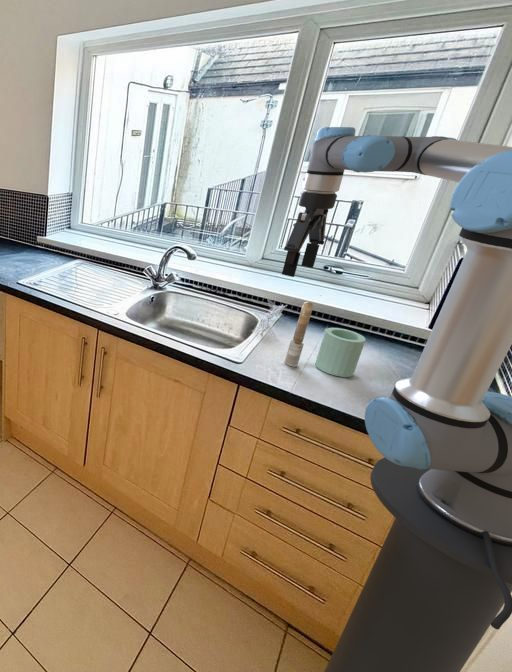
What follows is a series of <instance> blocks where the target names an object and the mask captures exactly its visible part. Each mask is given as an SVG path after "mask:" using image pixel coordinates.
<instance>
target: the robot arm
mask: <svg viewBox="0 0 512 672" xmlns="http://www.w3.org/2000/svg"><path fill="white" fill-rule="evenodd" d="M356 131H357V130H356V128H355V127H353V126H352V127H351V126H324V127H321V128H319V129H318V130H317V132H316V136H315V139H314V141H313V143H312V149H311V153H310V157H309V161H308V165H307V170H306V173H305V174H306V175H305V176H303V178H302V181H303V186H302V189H303V191H302V192H300V196H299V200H298V206H299V207H301V208H305V210H304V211H303V212H302V211H301V212H299V213H298V214H297V218H296V221H295V224H294V226H293V228H292V230H291V233H290V235H289V237H288V240H287V242H286V245H285V246H284V248H283V251H287V253H286V256H285V260H284V264H283V267H282V272H281V275H283V276H288V277H292V278H294V277H296V271H297V268H298V265H299V261H300V257H301V252H300V251H301V249H302V248H303V245H304V244H305V242H306V240H307V237H308V242H307V243H306V247H305V250H304V254H303V256H302V261H301V266H302V267H306V268H310V269H313V268H314V267H315V262H316V259H317V256H318V252H319V250H320V249H319V248H320V245H322V246H324V245H325V234H326V227H327V226H326V225H327V218H328V213H329V210H332V209H333V208H334V207H335V205H336V201H337V198H338V195H337V193H338V192H339V191H340V189H341V184H342V181H343V178H344V174H345V171H351V172H354V173H375V172H387V173H388V172H389V173H391V172H393V173H394V172H395V173H396V172H398V173H414V174H419V175H423V176H429V177H433V178H437V179H442V180H447V181H450V182H455V183H457V184H456V186H455V187H454V190H453V192H452V194H451V198H450V201H449V209H450V210H451V211H453V212H452V214H451V215H450V216H451V218H452V219H453V221H454V222H455V224H457V226H459V227H460V228H461V229H460V232H459V234H458V235H457V236H458V239H459V240H460V241H461V242H462V243H463V245H464V246H465V247H466V252H465V254H464V256H463V259H462V261H461V264H460V265H459V268H458V270H457V272H456V275H455V277H454V279H453V282H452V284H451V287H450V288H449V291H448V293H447V295H446V297H445V300H444V301H443V304H442V307H441V309H440V311H439V314H438V316H437V318H436V320H435V323H434V325H433V328H432V330H431V332H430V334H429V336H428V339H427V341H426V343H425V346H424V348H423V350H422V352H421V355H420V357H419V359H418V361H417V364H416V367H415V368H414V370H413V373H412V375H411V377H407V378H402V379H399V380H397V381H396V383H394V384H395V385H394V387H393V390H392V392H391V393H390V396H389V397H388V396H379V397H377V398H373V399H371V400H370V401H369V402H368V403H367V405H366V407H365V411H364V425H365V430H366V432H367V435H368V438H369V439H370V441H371V443H372V444H373V446H374V448H375V449H376V450H377V451H378V453H379V454H381V455H382V456H383V458H386V459H388V460H389V461H391V462H393V463H395V464H397V465H401V466H407V467H414V468H417V469H430V470H429V471H427V472H426V473H425V474H424V475H422V476H421V478H420V480H419V482H418V484H417V492H418V494H419V496H420V497H421V499H422V500H423V501H424V502H425V504H426V505H427V506H428V507H430V508H431V509H432V510H433V511H434V512H435V513H437V514H438V515H439V516H441V517H442V518H443V519H445V520H446V521H448V522H449V523H451V524H453V525H454V526H456V527H458V528H460V529H462V530H464V531H465V532H468V533H470V534H472V535H474V536H476V537H479V538H481V539H484V542H485V546H486V550H487V554H488V558H489V563H490V566H491V570H492V572H493V575H494V577H495V579H496V581H497V583H498V585H499V586H500V588H501V590H502V593H503V595H504V601H505V602H504V604H503V607H502V609H501V610H500V611H499V612H498V614H497V615H496V617H495V618H494V620H493V621H492V622H491V625H490V627H492V628H493V629H494V630H500V628H501V627H503V625H504V624H505V623H506V622H507V621H508V619H509V618H510V617H511V616H512V592H511V593H510V591H509V589H508V587H507V586H506V584H505V582H504V580H503V578H502V576H501V574H500V571H499V568H498V564H497V560H496V556H495V552H494V549H493V545H492V543H496V544H499V545H503V546H509V547H512V396H510V395H507V394H503V393H499V392H495V391H489V388H490V386H491V384H492V383H493V381H494V379H495V377H496V376H497V373H498V371H499V370H500V368H501V366H502V363H503V362H504V360H505V358H506V357H507V355H508V352H509V350H510V348H511V347H512V146H509V145H508V146H507V145H499V144H492V143H482V142H475V141H467V140H458V139H457V138H454V137H447V136H440V135H439V136H437V135H435V136H401V135H400V136H398V135H397V136H395V135H394V136H393V135H391V136H390V135H377V134H376V135H371V134H368V135H367V134H366V135H356ZM336 192H337V193H336Z"/></svg>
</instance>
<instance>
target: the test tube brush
mask: <svg viewBox="0 0 512 672" xmlns="http://www.w3.org/2000/svg"><path fill="white" fill-rule="evenodd" d="M267 302H268V306H270V309H269V310H268V312H267V313H266V314H265V315H263V316H262V315H260V314H256V313H254V314H253V315H254V316H255V317H256V321H257V322H258V324H257V325H256V326H255V328H253V329H252V330H251V331H250V332H252V333H256V332H257V333H259V335H260V336H261V338H263V337H264V333H265V334H268V335H270V336H272V337H273V338H275V339H276V338H278V337H277V336H276V335H275V333H274V331H273V329H272V326H273V324H274V323H275V322H276V321H277V320H278V319H279V321H285V317H284V314H283V313H282V312H283V311H284V309H285V307H287V306H288V304H286V305H284V304H283V303H282V304H281V305H280V306H279V305H276V304H275V303H274V302H271V299H269V298H268V299H267ZM273 316H276V318H272V317H273ZM264 317H267V318H264ZM284 324H285V325H286V324H287V323H286V322H284Z"/></svg>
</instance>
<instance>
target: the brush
mask: <svg viewBox="0 0 512 672" xmlns="http://www.w3.org/2000/svg"><path fill="white" fill-rule="evenodd" d="M313 308H314V304H313V302H311V301H304V302H303V303H302V306H301V309H300V313H299V316H298V320H297V323H296V327H295V329H294V334H293V337H292V340H290V341H289V344H288V348H287V352H286V355H285V359H284V364H285V365H286V366H288V367H293V368H295V367H298V365H299V361H300V358H301V355H302V351H303V348H304V345H305V344H304V343H303V342H304V339H305V336H306V332H307V329H308V326H309V322H310V319H311V315H312V312H313Z"/></svg>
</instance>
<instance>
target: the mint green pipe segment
mask: <svg viewBox="0 0 512 672" xmlns="http://www.w3.org/2000/svg"><path fill="white" fill-rule="evenodd" d="M365 344H366V337H365V336H364V335H362V334H360V333H358V332H356V331H353V330H349V329H345V328H341V327H328V328H326V329H325V331H324V334H323V337H322V340H321V343H320V346H319V349H318V353H317V356H316V358H315V362H314V365H315V367H316V368H318V369H319V370H321V371H322V372H324V373H326V374H329V375H332V376H336V377H341V378H350V377H352V376H354V374H355V371H356V368H357V366H358V363H359V360H360V357H361V355H362V352H363V349H364V346H365Z"/></svg>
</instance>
